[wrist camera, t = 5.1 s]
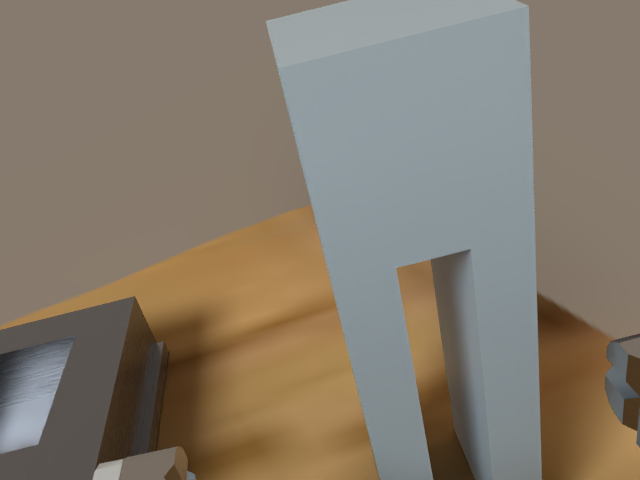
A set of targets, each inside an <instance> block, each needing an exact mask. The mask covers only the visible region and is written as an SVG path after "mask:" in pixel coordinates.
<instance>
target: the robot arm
mask: <svg viewBox="0 0 640 480" xmlns="http://www.w3.org/2000/svg"><path fill="white" fill-rule="evenodd" d="M606 357H607V359H608V360H609V361H610V362H611V364H612V365H613V366H612V367H611V368H610V370H609V371H608V372H607V373H606V375H605V390H606V393H607V397H608V401H609V403H610V405H611V407H612V409H613V411H614V413H615V415H616V416H617V417H618V419H619V420H620V422H621V423H622V424H623V425H625V426H627V427H629V428H631V429H634V430H636V431H637V441H636V443H637V445H638V446H639V447H640V334H637V335H633V336H629V337H625V338H621V339H617V340H613V341H610V343H609V345H608V346H607V355H606ZM187 466H188V458H187V456H186V454H185V452H184V450H183V448H182V447H179V446H177V447H172V448H168V449H163V450H159V451H154V452H149V453H145V454H140V455H135V456H131V457H126V458H124V459H119V460H115V461H110V462H105V463H101V464H99V465H98V467H97V469H96V470H95V472H94V475H93V479H92V480H198V479H197V477H196V475H195V474H193V473H191V472H189V471H187Z"/></svg>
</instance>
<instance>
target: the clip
mask: <svg viewBox="0 0 640 480" xmlns="http://www.w3.org/2000/svg"><path fill="white" fill-rule="evenodd" d="M266 24H267V28H268V32H269V36H270V40H271V44H272V48H273V52H274V56H275V60H276V64H277V68H278V72H279V76H280V80H281V84H282V88H283V92H284V96H285V100H286V104H287V109H288V113H289V117H290V120H291V125H292V128H293V133H294V137H295V140H296V145H297V149H298V153H299V157H300V161H301V165H302V169H303V173H304V176H305V181H306V185H307V189H308V193H309V197H310V201H311V205H312V209H313V213H314V217H315V221H316V225H317V229H318V233H319V237H320V241H321V245H322V249H323V253H324V257H325V261H326V265H327V270H328V274H329V278H330V282H331V286H332V290H333V294H334V298H335V302H336V306H337V310H338V314H339V318H340V322H341V326H342V330H343V334H344V338H345V342H346V346H347V350H348V354H349V358H350V362H351V366H352V370H353V374H354V378H355V382H356V386H357V390H358V394H359V398H360V402H361V406H362V410H363V414H364V418H365V422H366V426H367V431H368V435H369V439H370V443H371V447H372V451H373V455H374V459H375V462H376V466H377V470H378V474H379V478H380V480H433V475H432V470H431V464H430V458H429V453H428V447H427V441H426V436H425V430H424V424H423V419H422V413H421V407H420V402H419V396H418V390H417V384H416V379H415V373H414V367H413V362H412V356H411V350H410V345H409V339H408V333H407V328H406V322H405V316H404V311H403V305H402V299H401V293H400V288H399V282H398V276H397V271H396V268H397V267H401V266H405V265H409V264H413V263H417V262H421V261H425V260H429V259H431V266H432V273H433V281H434V288H435V295H436V302H437V310H438V317H439V324H440V331H441V339H442V346H443V353H444V360H445V368H446V375H447V382H448V389H449V396H450V404H451V411H452V418H453V425H454V430H455V433H456V435H457V438H458V440H459V443H460V445H461V447H462V450H463V452H464V455H465V457H466V460H467V462H468V464H469V467H470V469H471V472H472V474H473V476H474V479H475V480H542V461H541V425H540V390H539V355H538V319H537V285H536V250H535V214H534V181H533V180H534V179H533V146H532V145H533V144H532V143H533V142H532V107H531V71H530V40H529V39H530V37H529V6H528V5H525V4H523V3H520V2H518V1H516V0H349V1H345V2H341V3H336V4H333V5H328V6H324V7H320V8H316V9H312V10H308V11H304V12H301V13H296V14H292V15H288V16H284V17H281V18H277V19H273V20H268V21H266Z"/></svg>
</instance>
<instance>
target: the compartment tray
mask: <svg viewBox="0 0 640 480" xmlns="http://www.w3.org/2000/svg"><path fill="white" fill-rule="evenodd" d="M168 354H169V351H168V349H167V347H166V345H165V343H164V341H162V342H158V343H156V341H155V338H154V336H153V334H152V332H151V330H150V328H149V325H148V323H147V321H146V319H145V317H144V315H143V313H142V310H141V308H140V306H139V304H138V302H137V300H136V298H135V296H134V297H130V298H126V299H122V300H118V301H114V302H110V303H106V304H102V305H98V306H94V307H90V308H86V309H82V310H78V311H74V312H70V313H66V314H62V315H58V316H54V317H50V318H46V319H42V320H38V321H34V322H30V323H26V324H22V325H18V326H14V327H10V328H6V329H2V330H0V480H92V479H93V475H94V472H95V470H96V469H97V467H98V465H99V464H101V463H105V462H110V461H115V460H119V459H124V458H126V457H131V456H135V455H140V454H145V453H149V452H154V451H156V446H157V438H158V430H159V423H160V415H161V407H162V400H163V392H164V384H165V377H166V369H167V361H168Z"/></svg>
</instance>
